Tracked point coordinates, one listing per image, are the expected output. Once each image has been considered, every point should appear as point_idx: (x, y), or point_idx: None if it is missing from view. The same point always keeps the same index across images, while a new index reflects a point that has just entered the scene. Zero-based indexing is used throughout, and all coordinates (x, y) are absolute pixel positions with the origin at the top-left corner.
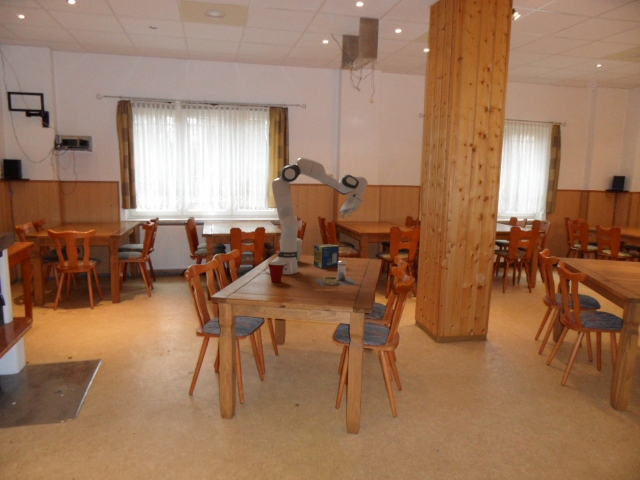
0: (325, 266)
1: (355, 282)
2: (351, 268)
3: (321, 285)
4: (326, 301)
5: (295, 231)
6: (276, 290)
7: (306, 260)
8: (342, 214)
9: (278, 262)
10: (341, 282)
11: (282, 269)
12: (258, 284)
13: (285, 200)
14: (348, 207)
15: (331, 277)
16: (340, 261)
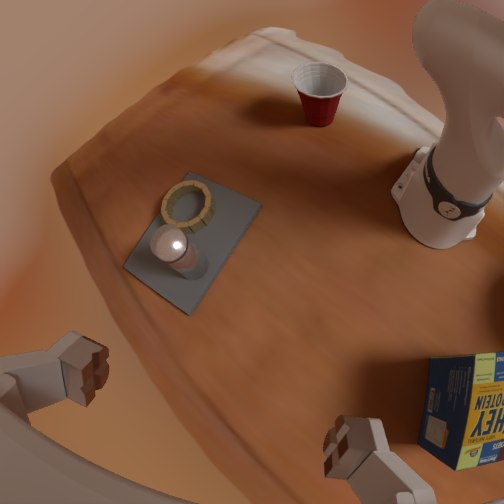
0: (430, 378)
1: (145, 282)
2: None
3: (188, 175)
4: (111, 135)
5: (441, 89)
6: (240, 90)
7: None
8: (374, 466)
9: (340, 91)
10: None
11: (302, 98)
12: None
13: None
14: (45, 472)
15: (196, 217)
16: (166, 231)
